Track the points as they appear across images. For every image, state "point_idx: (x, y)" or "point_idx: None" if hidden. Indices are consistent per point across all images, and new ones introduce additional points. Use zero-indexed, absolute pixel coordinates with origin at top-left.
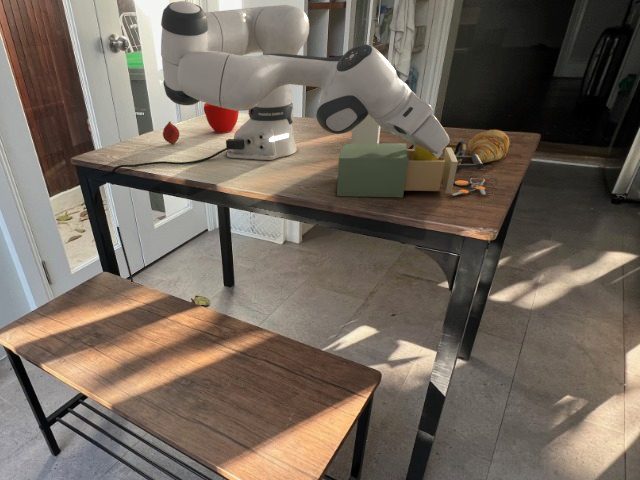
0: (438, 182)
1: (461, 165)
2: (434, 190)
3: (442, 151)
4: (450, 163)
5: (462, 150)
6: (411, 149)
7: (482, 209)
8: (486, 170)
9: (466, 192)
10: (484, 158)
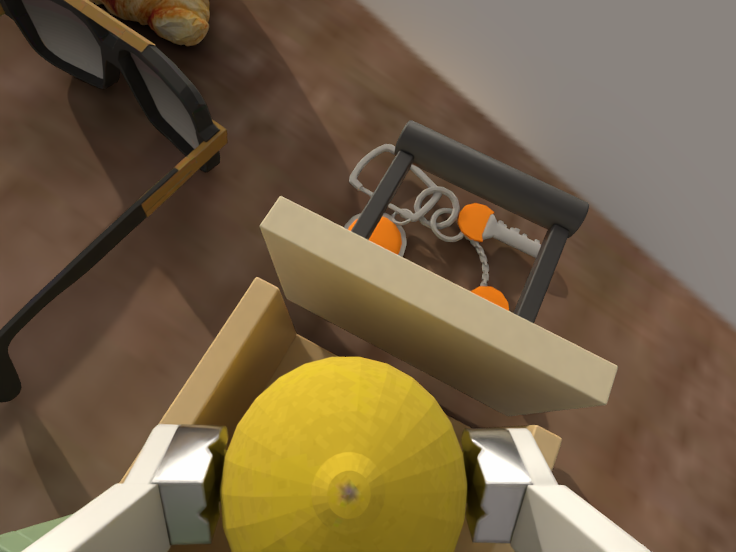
0: None
1: (539, 305)
2: None
3: (531, 434)
4: (550, 386)
5: (157, 63)
6: None
7: (671, 351)
8: (268, 59)
9: (503, 304)
10: (206, 8)
